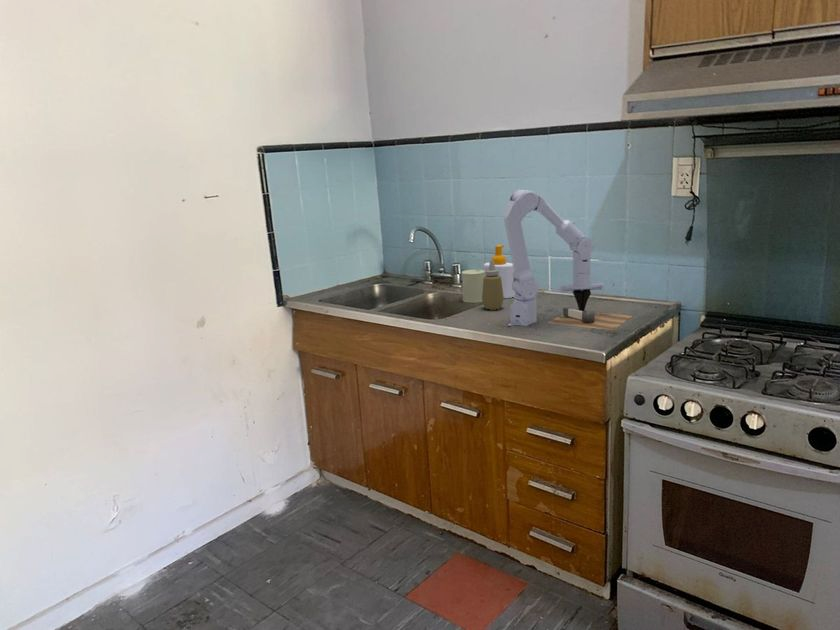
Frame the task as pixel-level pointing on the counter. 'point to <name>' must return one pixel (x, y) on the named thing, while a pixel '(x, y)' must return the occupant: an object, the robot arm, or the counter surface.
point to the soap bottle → (503, 271)
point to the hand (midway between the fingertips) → (581, 311)
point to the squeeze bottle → (492, 289)
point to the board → (600, 321)
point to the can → (472, 285)
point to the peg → (580, 314)
